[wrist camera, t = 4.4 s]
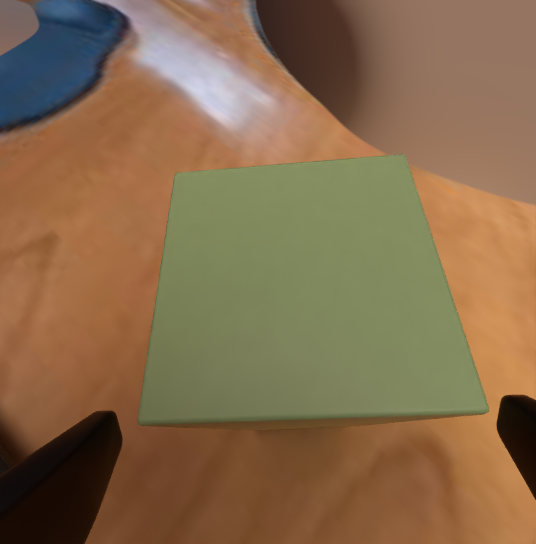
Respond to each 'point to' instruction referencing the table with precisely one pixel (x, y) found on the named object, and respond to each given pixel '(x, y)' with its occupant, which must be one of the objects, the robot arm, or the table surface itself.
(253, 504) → the table surface
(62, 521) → the robot arm
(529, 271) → the table surface
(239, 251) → the block
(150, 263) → the table surface
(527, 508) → the table surface
